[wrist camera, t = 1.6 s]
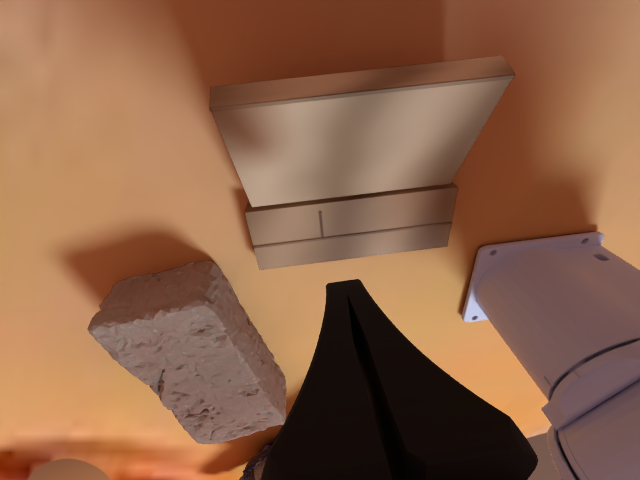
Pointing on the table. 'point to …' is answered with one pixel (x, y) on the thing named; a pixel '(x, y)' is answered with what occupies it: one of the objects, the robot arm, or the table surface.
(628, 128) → the table surface
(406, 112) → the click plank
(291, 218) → the laid board
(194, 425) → the brick
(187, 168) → the table surface
